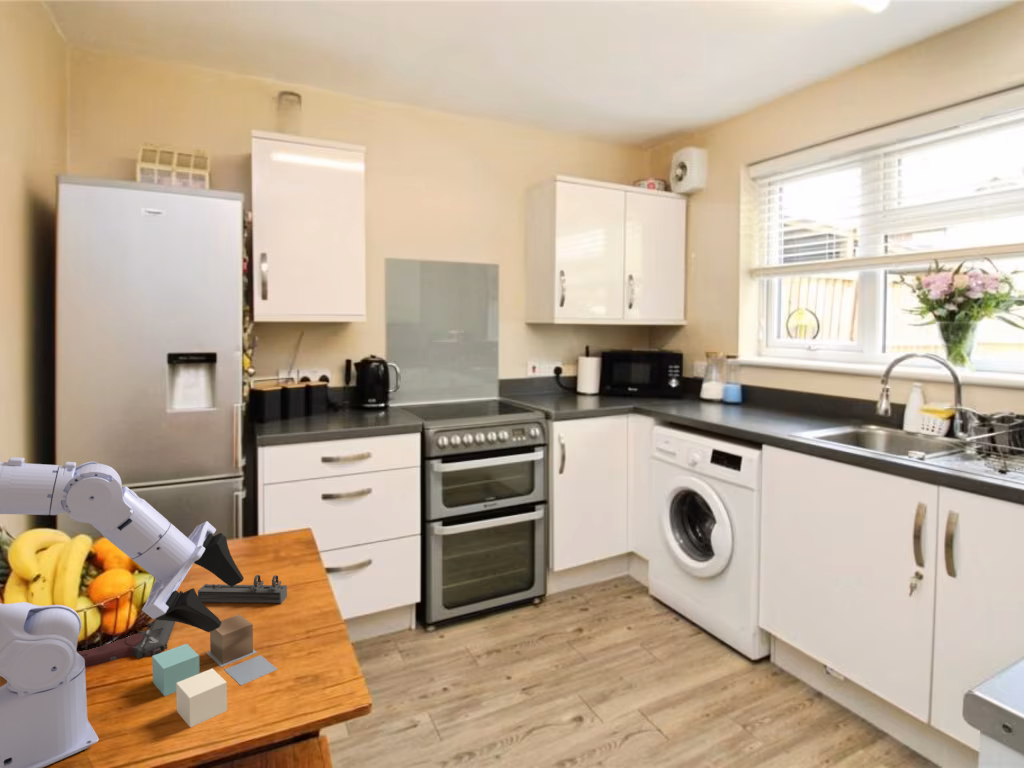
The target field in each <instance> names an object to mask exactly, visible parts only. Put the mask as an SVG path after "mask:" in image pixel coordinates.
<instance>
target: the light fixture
mask: <svg viewBox="0 0 1024 768" xmlns="http://www.w3.org/2000/svg"><path fill="white" fill-rule="evenodd" d="M287 594H288V586H287V585H286V584H285V585H283V584H282V580H279V576H278V575H277V574H275V575H273V576H272V579H271V584H270V585H269V584H264V580H261V575H260V574H256V575H255V576H254V579H253V584H236V585H234V586H232V587H231V586H229V585H228V584H221V583H219V584H214V583H212V584H210V583H209V584H208V583H205V584H204V585H202V586H201V587H200V588H199V589H198V590H197V596H198V597H199V599H200V600H201V601H202V603H203V604H204V603H223V604H225V603H228V604H232V603H233V604H234V603H235V604H245V603H246V604H279V605H282V604H283V602H284V601H285V600H286V599H287V597H288V595H287Z"/></svg>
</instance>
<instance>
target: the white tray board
mask: <svg viewBox="0 0 1024 768" xmlns="http://www.w3.org/2000/svg"><path fill="white" fill-rule="evenodd" d="M257 653H258V651H256V649H254V648H253V652H252V653H250V654H247V655H245V656H242V657H240V658H237V659H235V660H232V661H230V662H227V663H225V664H222V663H221V662H220V661H219V660H218V659H217V658H216V657H215V656H214V655H213V654H211V650H209V651H207V652H206V654H207V655H208V657H210V658H211V659H212V660H213V661H214V662H215V663H216V664H217V665H219V666H220V667H221V668H223V667H224V666H225V667H226V666H228V665H230V664H232V663H235V662H238V661H240V660H243V659H245V658H246V657H249V656H252V655H254V654H257ZM277 670H278V668H277V667H276V666H275V665H273V664H272V663H271V662H270V661H268V659H266V658H265V657H264V656H262V655H261V654H259V655H257V656H254V657H252V658H250V659H247V660H245V661H243V662H240V663H237V664H235V665H233V666H230V667H228V668H225V669H224V671H225V673H226V674H228V675H229V676H230V678H232V679H233V680H234V681H235V682H236V683H238V684H239V686H244V685H245V684H247V683H250V682H252V681H254V680H257V679H259V678H261V677H263V676H264V677H265V676H266V675H268V674H270V673H273V672H275V671H277Z"/></svg>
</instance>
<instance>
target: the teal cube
mask: <svg viewBox="0 0 1024 768" xmlns="http://www.w3.org/2000/svg"><path fill="white" fill-rule="evenodd" d="M151 659H152V663H151V664H152V683H153V684H154V686H155V687H156V688H157V689H158V690H159V692H160V693H161V694H162V695H163V696H164V697H166V696H170V695H171V694H174V693H176V683H177V682H180V681H182V680H185V679H187V678H190V677H192V676H195V675H197V674H200V673H201V672H200V669H201V668H200V654H198V653H197V652H196V651H195V650H194V649H193V648H192V647H191V646H190V645H189V644H188V643H185V644H181V645H179V646H175V647H173V648H170V649H168V650H167V649H166V650H164V651H161V653H159V654H156V655H154V656H153V655H151Z"/></svg>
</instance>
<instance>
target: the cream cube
mask: <svg viewBox="0 0 1024 768" xmlns="http://www.w3.org/2000/svg"><path fill="white" fill-rule="evenodd" d="M175 695H176V713H177V714H179V716H180V717H181V718H182V719H183V720H184V721H183V722H185V723H186V724H187V725H188V727H190V728H193V727H195V726H197V725H199V724H201V723H203V722H205V721H208V720H210V719H212V718H214V717H217V716H219V715H221V714H223V713H225V712H227V711H228V683H227V681H226V680H225V679H224V678H223V677H222V676H221V675H220V674H219V673H217V671H216V670H215V669H214V668H210V669H208V670H205V671H202V672H200V674H197V675H195V676H192V677H190V678H187V679H185V680H182V681H180V682H177V683H176V692H175Z"/></svg>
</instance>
